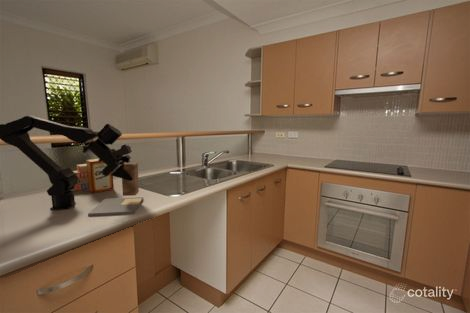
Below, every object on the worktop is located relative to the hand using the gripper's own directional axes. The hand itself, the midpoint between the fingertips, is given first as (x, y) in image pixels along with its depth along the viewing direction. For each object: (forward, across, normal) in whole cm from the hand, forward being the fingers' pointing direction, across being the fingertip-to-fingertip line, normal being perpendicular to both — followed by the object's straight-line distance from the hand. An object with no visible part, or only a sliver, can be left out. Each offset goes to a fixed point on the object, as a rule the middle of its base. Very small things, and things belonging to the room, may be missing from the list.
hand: (133, 178), depth 95 cm
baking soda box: (-7, +22, +24) cm, 33 cm away
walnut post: (+4, 0, +6) cm, 7 cm away
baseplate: (+4, -3, +12) cm, 13 cm away
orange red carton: (-14, +26, +31) cm, 43 cm away
